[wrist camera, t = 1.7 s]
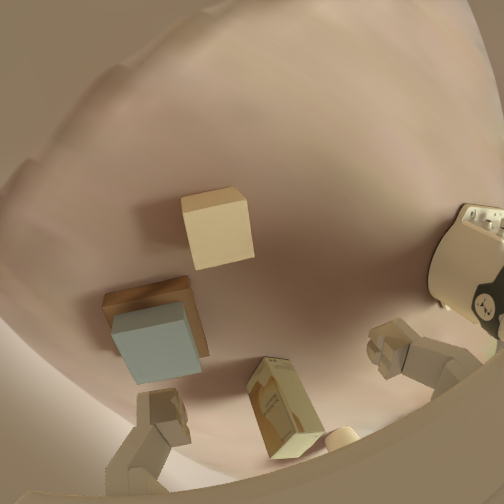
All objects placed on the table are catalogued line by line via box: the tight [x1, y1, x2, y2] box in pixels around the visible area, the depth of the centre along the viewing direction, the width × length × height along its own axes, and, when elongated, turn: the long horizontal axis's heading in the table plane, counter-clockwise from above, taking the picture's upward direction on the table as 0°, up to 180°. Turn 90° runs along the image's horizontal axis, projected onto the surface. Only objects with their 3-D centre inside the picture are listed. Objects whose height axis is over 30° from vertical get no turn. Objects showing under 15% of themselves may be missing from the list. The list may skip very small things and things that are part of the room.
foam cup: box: [325, 426, 360, 453], centre depth 48 cm, size 10×9×13 cm
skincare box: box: [246, 357, 326, 459], centre depth 34 cm, size 6×4×12 cm
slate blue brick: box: [111, 301, 202, 385], centre depth 28 cm, size 7×7×3 cm
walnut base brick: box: [102, 276, 209, 358], centre depth 31 cm, size 9×9×3 cm
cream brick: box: [181, 187, 255, 271], centre depth 26 cm, size 5×5×5 cm
